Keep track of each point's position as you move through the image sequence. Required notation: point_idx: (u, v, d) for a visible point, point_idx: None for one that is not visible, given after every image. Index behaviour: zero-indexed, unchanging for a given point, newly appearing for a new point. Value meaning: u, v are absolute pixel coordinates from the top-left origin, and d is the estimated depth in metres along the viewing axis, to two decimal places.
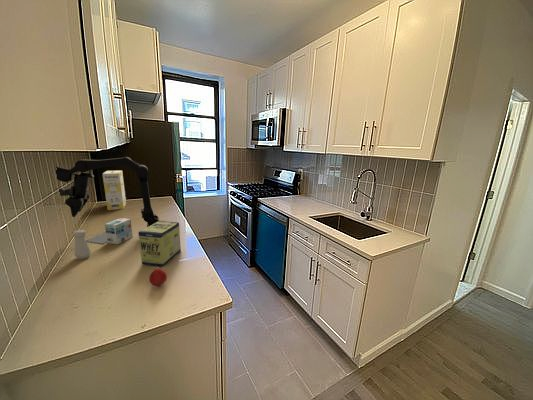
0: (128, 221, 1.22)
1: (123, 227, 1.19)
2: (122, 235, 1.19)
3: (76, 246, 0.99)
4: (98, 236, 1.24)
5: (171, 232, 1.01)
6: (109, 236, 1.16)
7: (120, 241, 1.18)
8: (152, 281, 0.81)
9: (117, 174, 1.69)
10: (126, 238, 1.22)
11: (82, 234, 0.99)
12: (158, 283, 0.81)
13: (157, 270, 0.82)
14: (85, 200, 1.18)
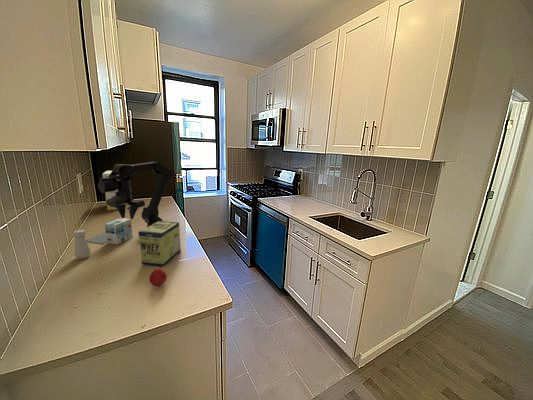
0: (128, 221, 1.22)
1: (123, 227, 1.19)
2: (122, 235, 1.19)
3: (76, 246, 0.99)
4: (98, 236, 1.24)
5: (171, 232, 1.01)
6: (109, 236, 1.16)
7: (120, 241, 1.18)
8: (152, 281, 0.81)
9: None
10: (126, 238, 1.22)
11: (82, 234, 0.99)
12: (158, 283, 0.81)
13: (157, 270, 0.82)
14: (124, 205, 1.18)
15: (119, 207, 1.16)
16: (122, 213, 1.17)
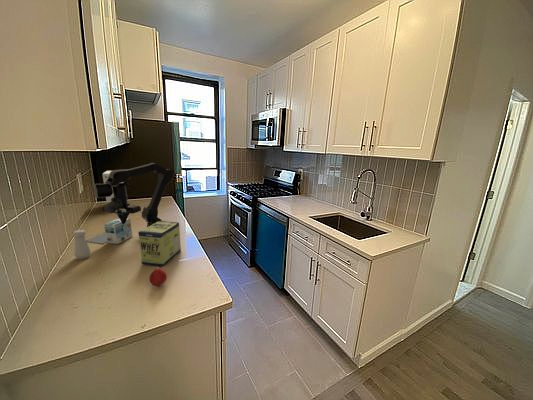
0: (127, 220, 1.22)
1: (123, 226, 1.19)
2: (121, 234, 1.18)
3: (76, 246, 0.99)
4: (98, 236, 1.24)
5: (171, 232, 1.01)
6: (109, 236, 1.16)
7: (120, 241, 1.18)
8: (152, 281, 0.81)
9: None
10: (126, 238, 1.22)
11: (82, 234, 0.99)
12: (158, 283, 0.81)
13: (157, 270, 0.82)
14: None
15: None
16: None
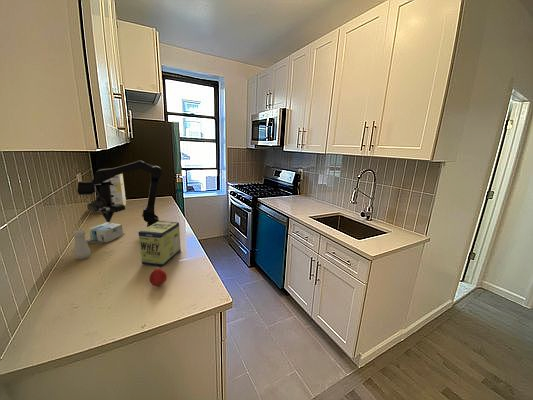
0: (104, 223, 1.26)
1: (102, 225, 1.22)
2: (104, 227, 1.20)
3: (76, 246, 0.99)
4: None
5: (171, 232, 1.01)
6: (99, 237, 1.18)
7: (107, 229, 1.18)
8: (152, 281, 0.81)
9: None
10: (113, 226, 1.22)
11: (82, 234, 0.99)
12: (158, 283, 0.81)
13: (157, 270, 0.82)
14: None
15: None
16: None
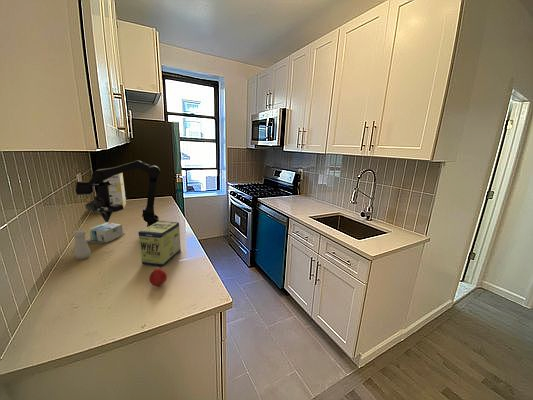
0: (104, 223, 1.26)
1: (102, 225, 1.22)
2: (104, 227, 1.20)
3: (76, 246, 0.99)
4: None
5: (171, 232, 1.01)
6: (99, 237, 1.18)
7: (107, 229, 1.18)
8: (152, 281, 0.81)
9: (117, 174, 1.69)
10: (113, 226, 1.22)
11: (82, 234, 0.99)
12: (158, 283, 0.81)
13: (157, 270, 0.82)
14: None
15: None
16: None
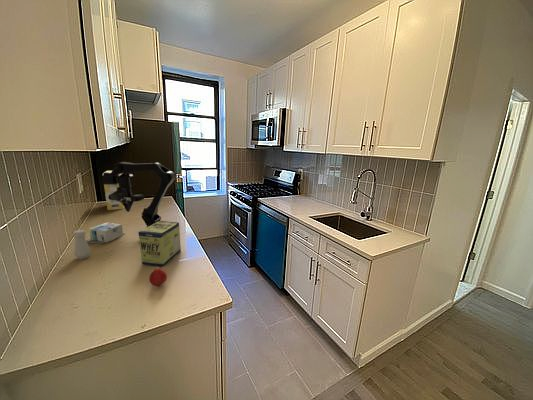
0: (104, 223, 1.26)
1: (102, 225, 1.22)
2: (104, 227, 1.20)
3: (76, 246, 0.99)
4: None
5: (171, 232, 1.01)
6: (99, 237, 1.18)
7: (107, 229, 1.18)
8: (152, 281, 0.81)
9: None
10: (113, 226, 1.22)
11: (82, 234, 0.99)
12: (158, 283, 0.81)
13: (157, 270, 0.82)
14: None
15: None
16: None
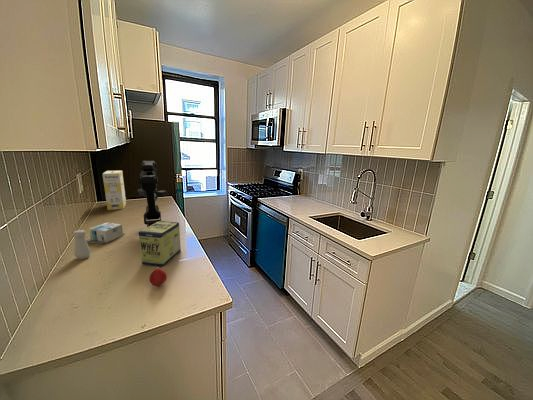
0: (104, 223, 1.26)
1: (102, 225, 1.22)
2: (104, 227, 1.20)
3: (76, 246, 0.99)
4: None
5: (171, 232, 1.01)
6: (99, 237, 1.18)
7: (107, 229, 1.18)
8: (152, 281, 0.81)
9: (117, 174, 1.69)
10: (113, 226, 1.22)
11: (82, 234, 0.99)
12: (158, 283, 0.81)
13: (157, 270, 0.82)
14: None
15: None
16: None
